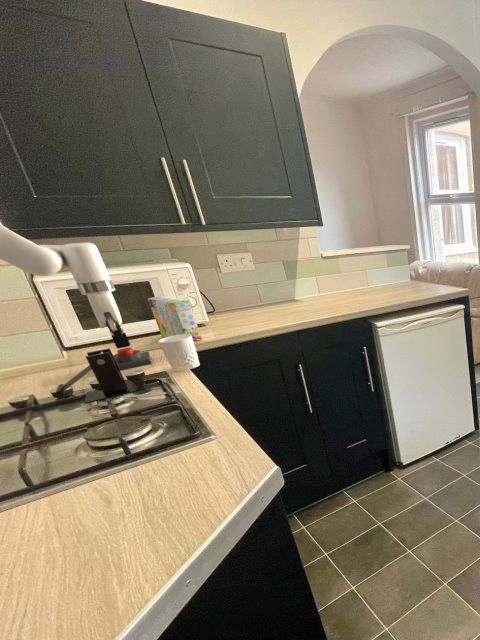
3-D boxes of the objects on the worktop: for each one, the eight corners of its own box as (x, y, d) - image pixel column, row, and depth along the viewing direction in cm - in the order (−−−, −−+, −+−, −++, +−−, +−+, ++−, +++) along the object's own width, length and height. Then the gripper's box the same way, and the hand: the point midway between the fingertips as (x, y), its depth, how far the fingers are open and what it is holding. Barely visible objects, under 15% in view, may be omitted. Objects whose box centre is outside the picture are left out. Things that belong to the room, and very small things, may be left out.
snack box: (204, 339, 156) (189, 299, 149) (187, 343, 151) (171, 302, 145) (177, 332, 166) (162, 294, 160) (160, 336, 161) (144, 298, 155)
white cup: (187, 375, 122) (174, 342, 118) (164, 374, 123) (151, 342, 119) (209, 365, 129) (197, 334, 125) (187, 364, 131) (175, 333, 126)
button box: (110, 374, 126) (104, 361, 124) (111, 365, 133) (105, 354, 131) (152, 365, 132) (147, 353, 130) (150, 357, 139) (146, 346, 137)
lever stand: (86, 407, 105) (63, 363, 100) (88, 396, 111) (67, 354, 106) (147, 392, 112) (128, 350, 107) (146, 382, 118) (128, 343, 113)
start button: (119, 357, 128) (116, 352, 128) (119, 354, 131) (117, 349, 130) (134, 354, 130) (132, 349, 130) (134, 352, 133) (131, 346, 132)
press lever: (62, 398, 103) (51, 392, 101) (64, 391, 107) (54, 385, 105) (110, 361, 106) (100, 354, 105) (111, 355, 111) (101, 349, 109)
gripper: (81, 286, 125) (108, 344, 133) (77, 293, 115) (107, 355, 122) (114, 282, 130) (138, 338, 137) (113, 288, 119) (139, 349, 127)
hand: (123, 346), depth 130 cm, fingers closed
